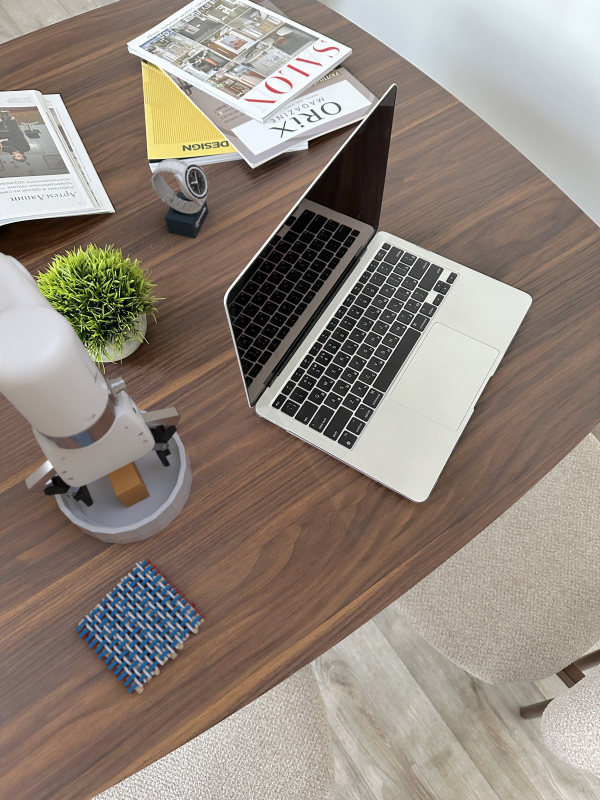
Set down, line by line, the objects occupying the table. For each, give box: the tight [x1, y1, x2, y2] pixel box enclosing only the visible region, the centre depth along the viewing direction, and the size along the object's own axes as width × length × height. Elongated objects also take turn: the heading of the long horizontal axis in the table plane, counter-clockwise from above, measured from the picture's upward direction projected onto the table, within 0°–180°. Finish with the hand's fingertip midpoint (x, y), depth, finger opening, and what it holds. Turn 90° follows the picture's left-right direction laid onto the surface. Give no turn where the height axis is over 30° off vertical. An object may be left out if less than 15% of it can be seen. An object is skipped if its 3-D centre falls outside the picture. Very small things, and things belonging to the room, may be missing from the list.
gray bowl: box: [54, 409, 193, 545], centre depth 74 cm, size 15×15×5 cm
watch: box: [150, 158, 210, 239], centre depth 91 cm, size 6×8×11 cm
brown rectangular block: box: [107, 461, 150, 508], centre depth 74 cm, size 3×8×4 cm, turn 29°
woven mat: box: [75, 558, 205, 695], centre depth 68 cm, size 10×11×2 cm
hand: (125, 475), depth 74 cm, fingers open, 9 cm apart
